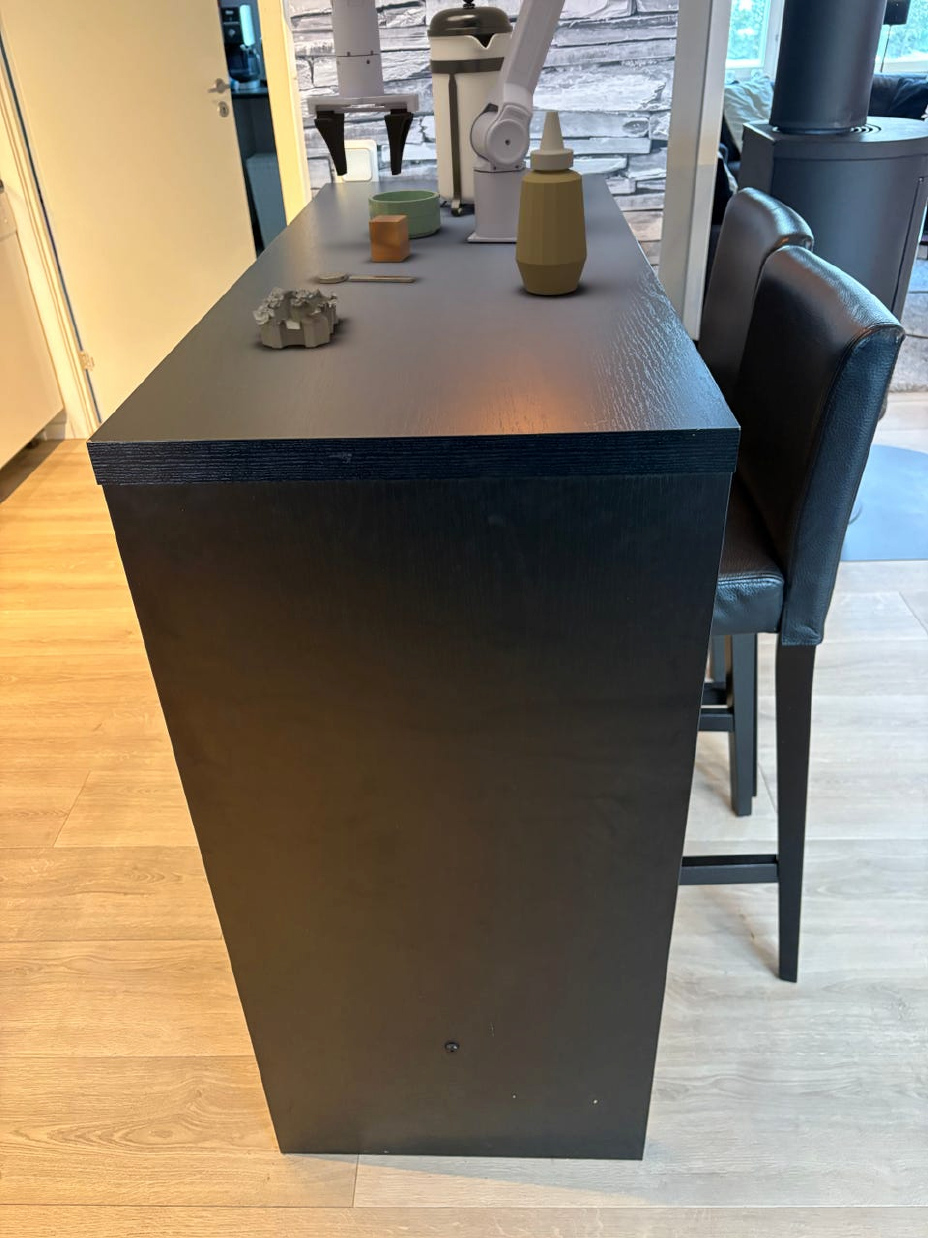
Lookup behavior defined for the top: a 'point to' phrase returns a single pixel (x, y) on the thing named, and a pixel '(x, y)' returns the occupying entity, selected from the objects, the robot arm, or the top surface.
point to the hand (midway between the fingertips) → (369, 174)
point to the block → (389, 238)
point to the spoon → (359, 278)
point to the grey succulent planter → (296, 317)
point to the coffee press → (463, 89)
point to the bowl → (409, 209)
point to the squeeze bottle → (551, 217)
